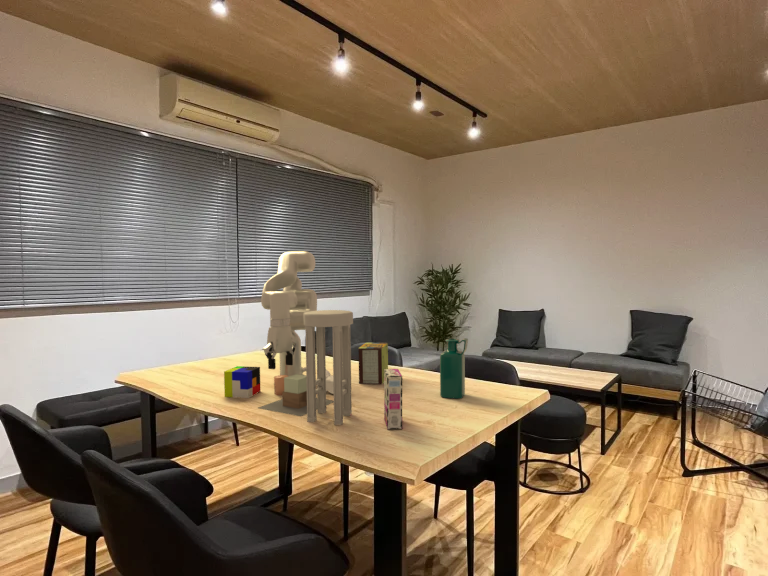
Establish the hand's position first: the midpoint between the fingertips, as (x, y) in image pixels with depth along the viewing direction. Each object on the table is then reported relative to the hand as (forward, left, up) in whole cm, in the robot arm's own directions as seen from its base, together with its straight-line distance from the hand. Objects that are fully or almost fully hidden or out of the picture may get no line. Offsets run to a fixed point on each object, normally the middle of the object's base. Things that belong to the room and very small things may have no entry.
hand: (280, 366), depth 180 cm
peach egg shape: (-1, 0, -11) cm, 11 cm away
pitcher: (-30, +61, -11) cm, 68 cm away
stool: (+14, +35, -11) cm, 39 cm away
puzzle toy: (+6, -14, -11) cm, 19 cm away
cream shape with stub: (-12, +16, -11) cm, 23 cm away
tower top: (+8, +16, -6) cm, 18 cm away
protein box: (-38, +20, -11) cm, 44 cm away
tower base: (+8, +16, -11) cm, 21 cm away
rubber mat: (+8, +16, -11) cm, 21 cm away
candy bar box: (+9, +56, -11) cm, 57 cm away
